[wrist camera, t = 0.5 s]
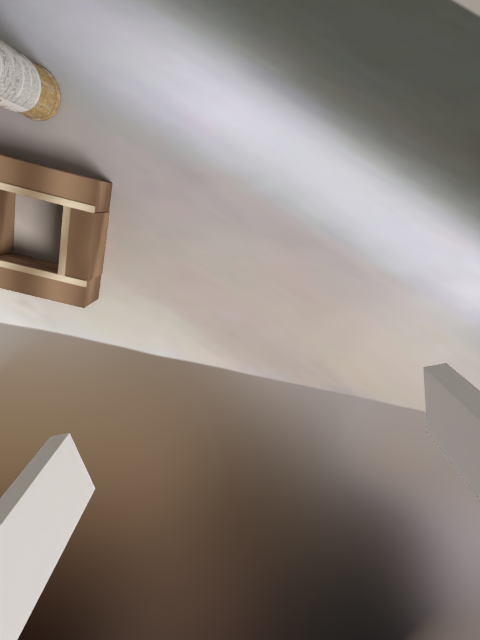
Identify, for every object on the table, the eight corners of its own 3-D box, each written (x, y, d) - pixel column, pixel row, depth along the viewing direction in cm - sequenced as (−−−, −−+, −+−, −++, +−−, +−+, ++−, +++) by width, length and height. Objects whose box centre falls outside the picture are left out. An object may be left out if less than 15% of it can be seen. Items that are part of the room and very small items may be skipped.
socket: (-14, 271, 37) (-41, 278, 34) (-13, 150, 34) (-43, 144, 30) (98, 298, 38) (83, 308, 35) (113, 183, 34) (97, 181, 31)
